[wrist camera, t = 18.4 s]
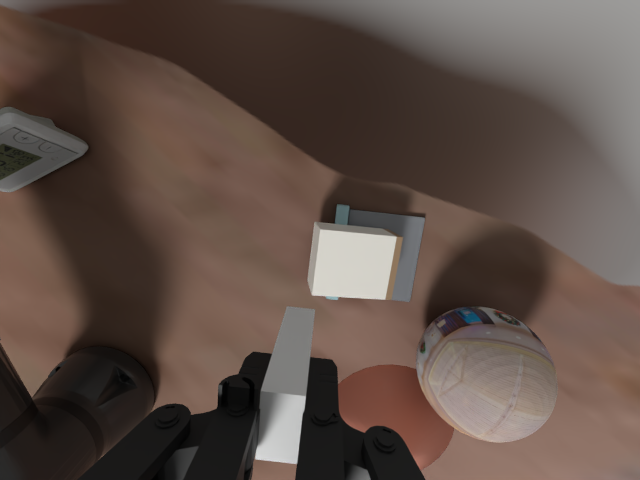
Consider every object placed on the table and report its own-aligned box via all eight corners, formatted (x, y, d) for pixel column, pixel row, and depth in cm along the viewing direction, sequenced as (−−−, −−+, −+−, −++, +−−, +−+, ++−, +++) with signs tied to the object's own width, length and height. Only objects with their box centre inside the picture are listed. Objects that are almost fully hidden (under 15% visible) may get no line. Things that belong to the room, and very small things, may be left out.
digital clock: (8, 194, 43) (-76, 199, 34) (-16, 137, 41) (-112, 127, 32) (101, 170, 42) (39, 170, 33) (79, 111, 40) (8, 93, 31)
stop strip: (326, 294, 44) (326, 298, 43) (336, 204, 41) (337, 205, 40) (337, 295, 44) (337, 300, 43) (348, 205, 41) (349, 206, 40)
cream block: (311, 295, 37) (391, 299, 38) (320, 229, 35) (403, 237, 37) (307, 280, 41) (378, 285, 43) (314, 221, 40) (387, 229, 41)
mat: (339, 292, 44) (339, 294, 44) (349, 209, 42) (350, 209, 41) (408, 300, 44) (409, 301, 44) (423, 217, 42) (425, 217, 41)
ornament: (525, 353, 45) (619, 439, 31) (433, 398, 47) (480, 499, 33) (480, 269, 43) (559, 319, 28) (385, 320, 45) (412, 392, 30)
